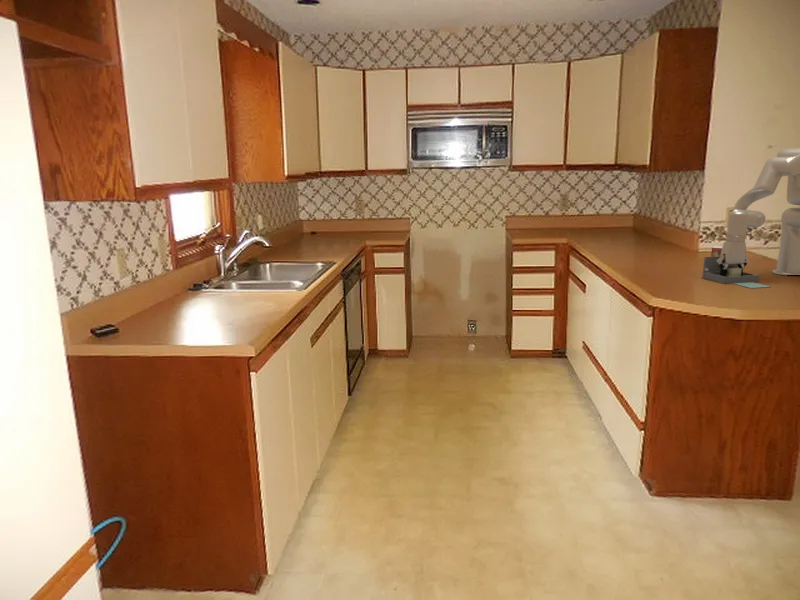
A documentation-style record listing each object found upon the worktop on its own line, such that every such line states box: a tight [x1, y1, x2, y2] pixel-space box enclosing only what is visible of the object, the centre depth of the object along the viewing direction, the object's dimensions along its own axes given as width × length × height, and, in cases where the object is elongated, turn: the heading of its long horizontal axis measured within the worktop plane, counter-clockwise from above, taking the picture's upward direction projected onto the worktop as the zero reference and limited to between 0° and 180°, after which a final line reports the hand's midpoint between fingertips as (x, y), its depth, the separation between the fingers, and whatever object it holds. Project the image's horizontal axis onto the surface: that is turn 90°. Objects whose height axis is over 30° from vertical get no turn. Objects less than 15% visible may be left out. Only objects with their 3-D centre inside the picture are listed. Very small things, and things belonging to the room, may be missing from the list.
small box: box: [710, 245, 723, 257], centre depth 288 cm, size 8×6×13 cm
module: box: [726, 266, 742, 277], centre depth 273 cm, size 5×6×6 cm
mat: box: [732, 282, 771, 289], centre depth 262 cm, size 10×10×1 cm
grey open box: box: [701, 256, 760, 285], centre depth 273 cm, size 18×15×10 cm
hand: (730, 277), depth 273 cm, fingers open, 7 cm apart
